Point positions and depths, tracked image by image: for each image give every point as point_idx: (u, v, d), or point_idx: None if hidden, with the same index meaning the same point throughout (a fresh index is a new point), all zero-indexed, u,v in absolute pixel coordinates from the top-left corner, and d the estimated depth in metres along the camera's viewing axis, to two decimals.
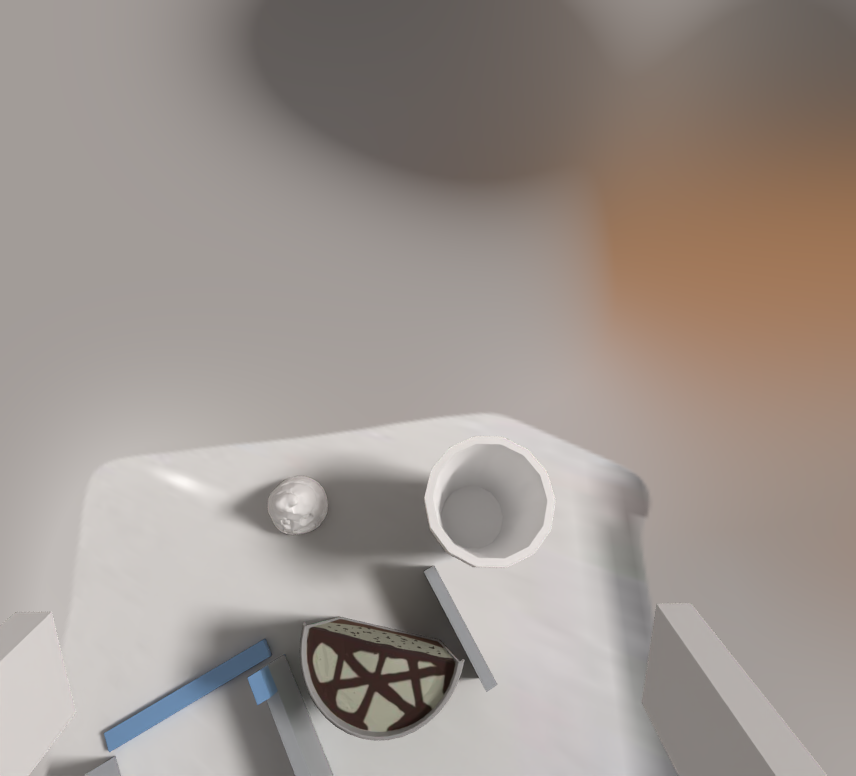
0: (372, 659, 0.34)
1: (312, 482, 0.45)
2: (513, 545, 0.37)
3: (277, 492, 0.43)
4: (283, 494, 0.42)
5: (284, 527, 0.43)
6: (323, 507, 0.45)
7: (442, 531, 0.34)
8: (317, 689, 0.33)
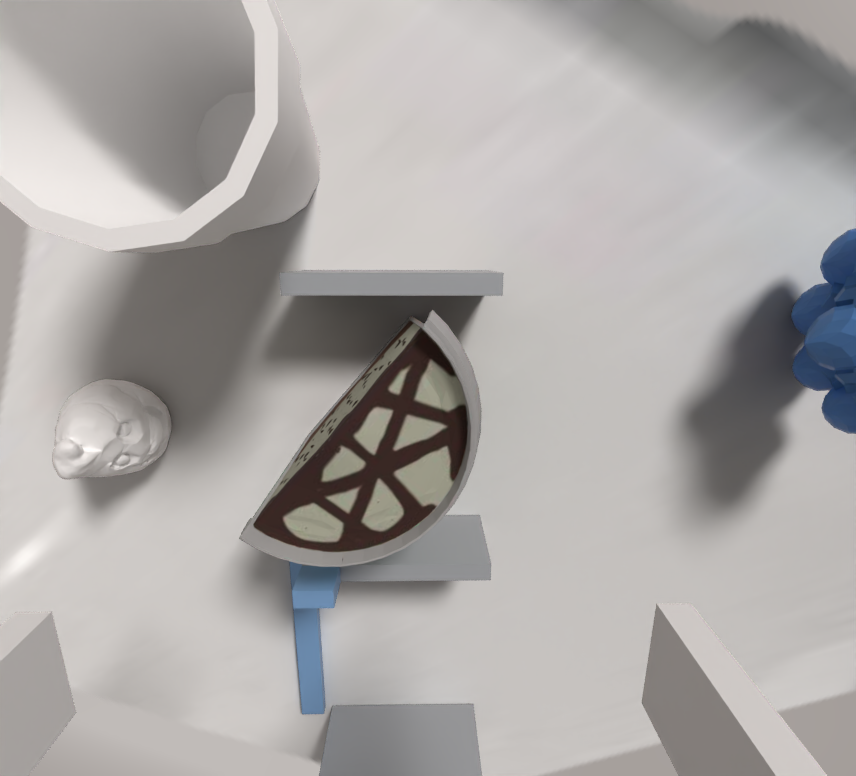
0: (345, 459, 0.19)
1: (74, 395, 0.25)
2: None
3: None
4: None
5: (134, 464, 0.26)
6: (130, 394, 0.26)
7: (131, 229, 0.13)
8: (344, 549, 0.20)
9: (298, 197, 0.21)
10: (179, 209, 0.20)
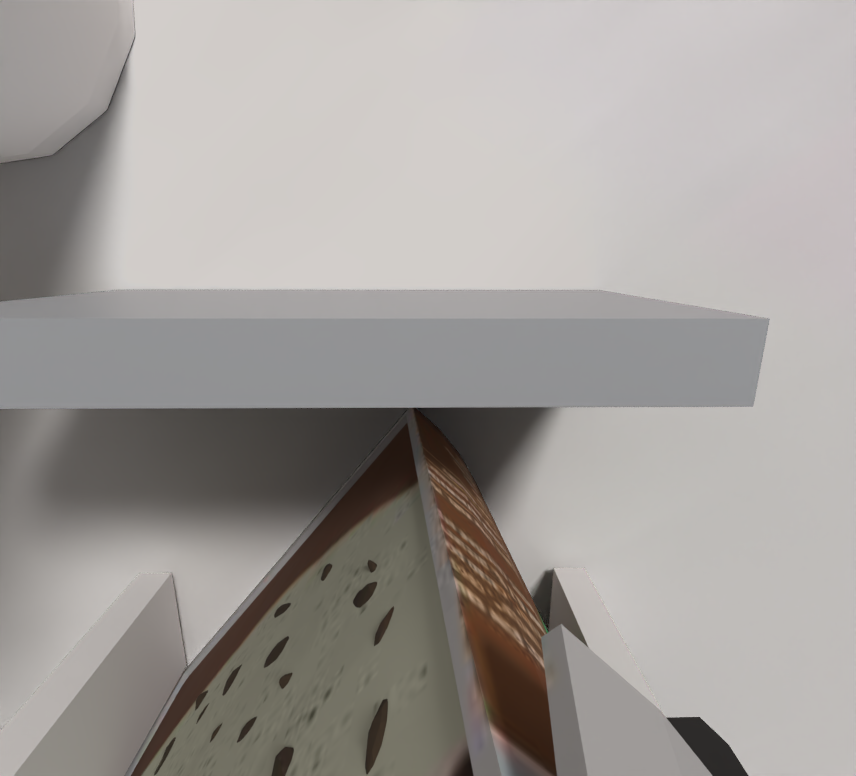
0: None
1: None
2: None
3: None
4: None
5: None
6: None
7: None
8: None
9: None
10: None
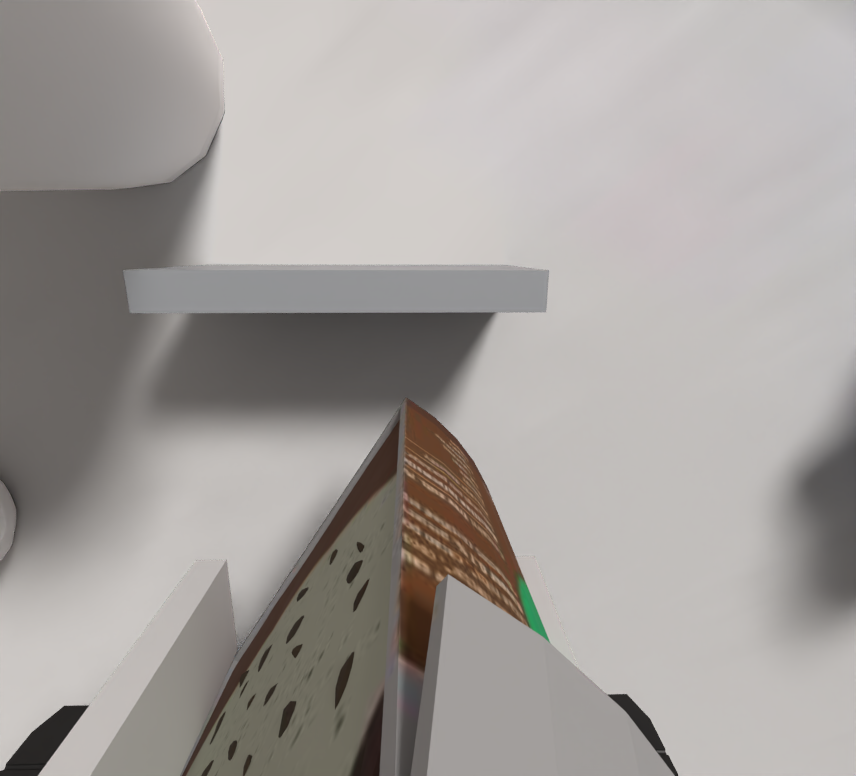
0: None
1: None
2: None
3: None
4: None
5: None
6: None
7: None
8: None
9: (157, 124, 0.11)
10: None
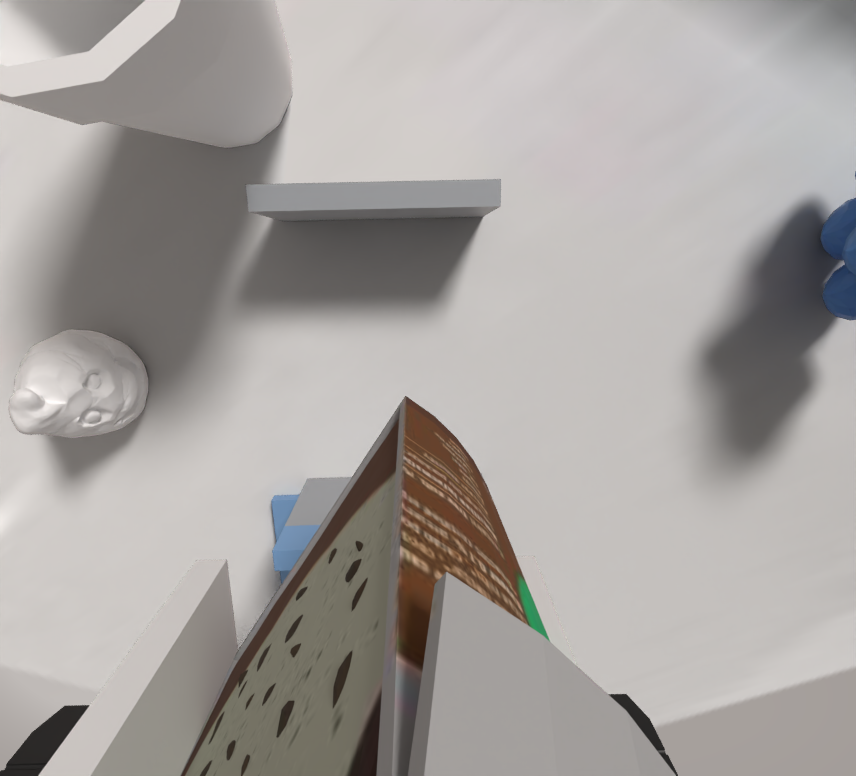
0: None
1: (36, 345, 0.22)
2: None
3: None
4: None
5: (106, 422, 0.23)
6: (99, 344, 0.23)
7: (35, 66, 0.11)
8: None
9: (264, 97, 0.19)
10: None
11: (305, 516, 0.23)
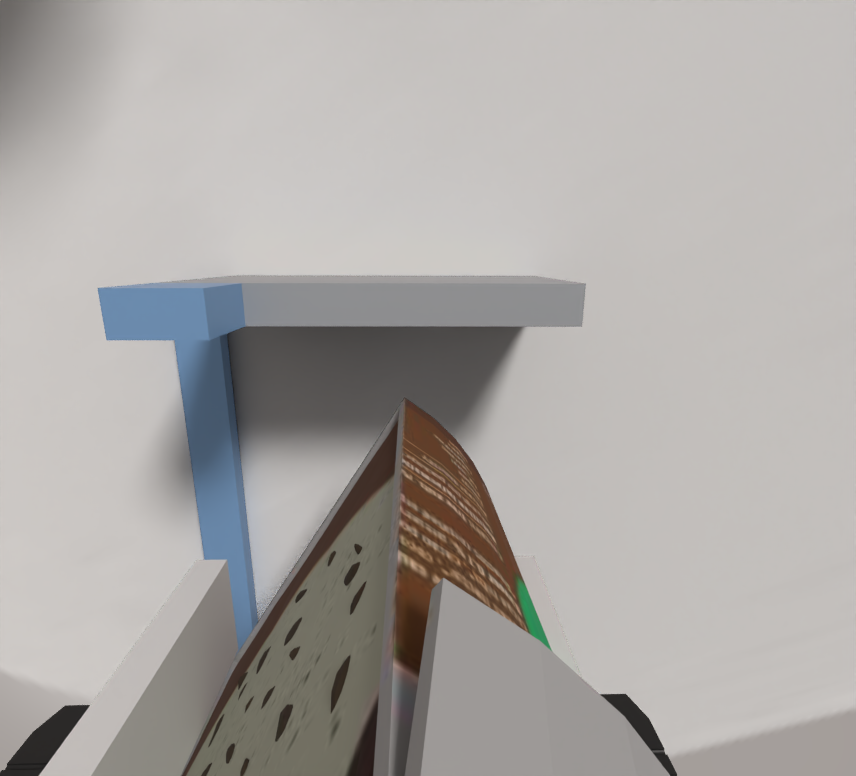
0: None
1: None
2: None
3: None
4: None
5: None
6: None
7: None
8: None
9: None
10: None
11: (204, 281, 0.12)
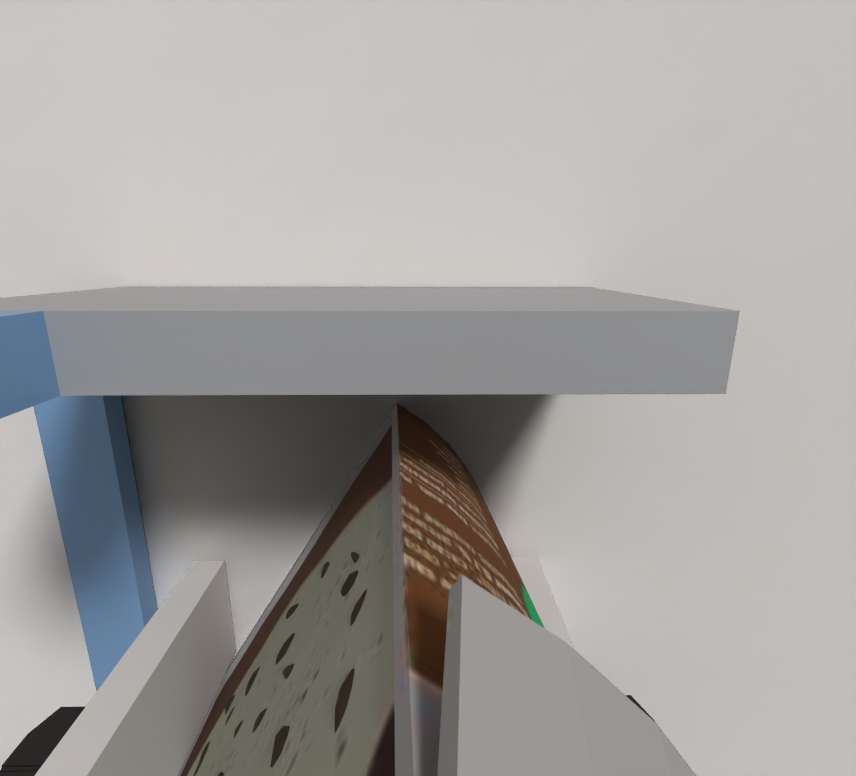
0: None
1: None
2: None
3: None
4: None
5: None
6: None
7: None
8: None
9: None
10: None
11: None
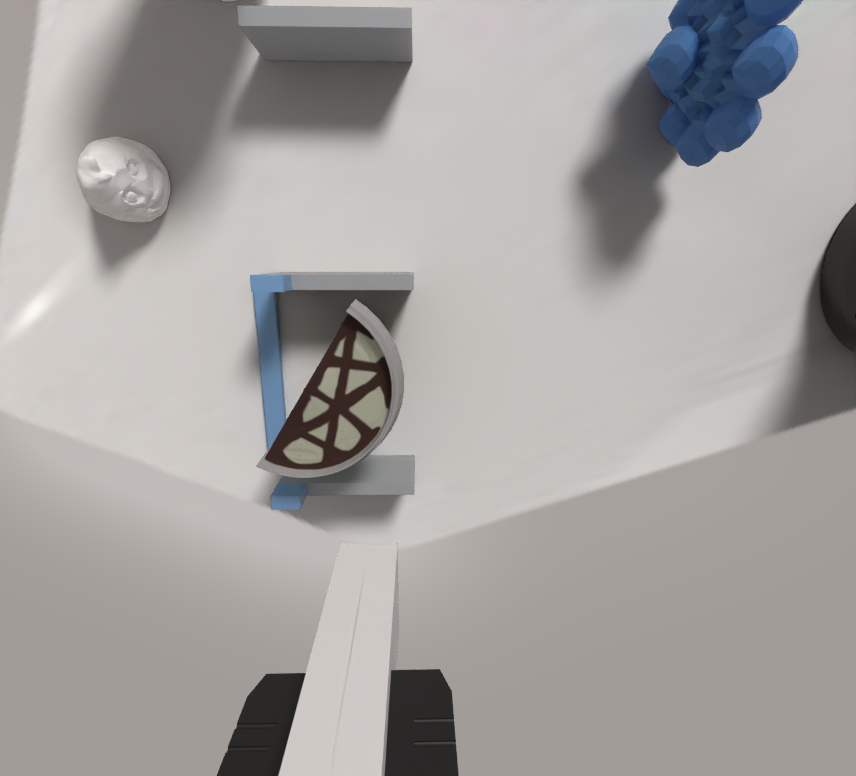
0: (315, 404, 0.29)
1: (92, 141, 0.31)
2: None
3: (81, 187, 0.31)
4: (77, 173, 0.29)
5: (140, 205, 0.32)
6: (136, 146, 0.32)
7: None
8: (326, 466, 0.30)
9: None
10: None
11: None
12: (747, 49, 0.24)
